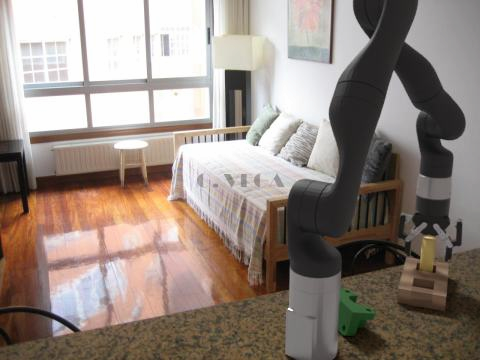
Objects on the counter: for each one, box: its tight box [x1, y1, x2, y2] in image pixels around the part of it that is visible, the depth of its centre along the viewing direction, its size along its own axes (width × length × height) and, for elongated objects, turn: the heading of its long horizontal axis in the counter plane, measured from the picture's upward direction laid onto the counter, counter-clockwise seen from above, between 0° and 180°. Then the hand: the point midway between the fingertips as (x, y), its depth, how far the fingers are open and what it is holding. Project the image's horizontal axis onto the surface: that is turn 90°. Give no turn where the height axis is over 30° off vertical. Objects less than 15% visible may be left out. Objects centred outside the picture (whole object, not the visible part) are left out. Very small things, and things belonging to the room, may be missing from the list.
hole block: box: [396, 256, 450, 312], centre depth 122 cm, size 18×10×4 cm, turn 157°
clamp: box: [338, 287, 376, 337], centre depth 107 cm, size 12×6×9 cm, turn 13°
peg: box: [419, 236, 437, 272], centre depth 124 cm, size 3×3×11 cm
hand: (427, 257), depth 124 cm, fingers open, 8 cm apart
